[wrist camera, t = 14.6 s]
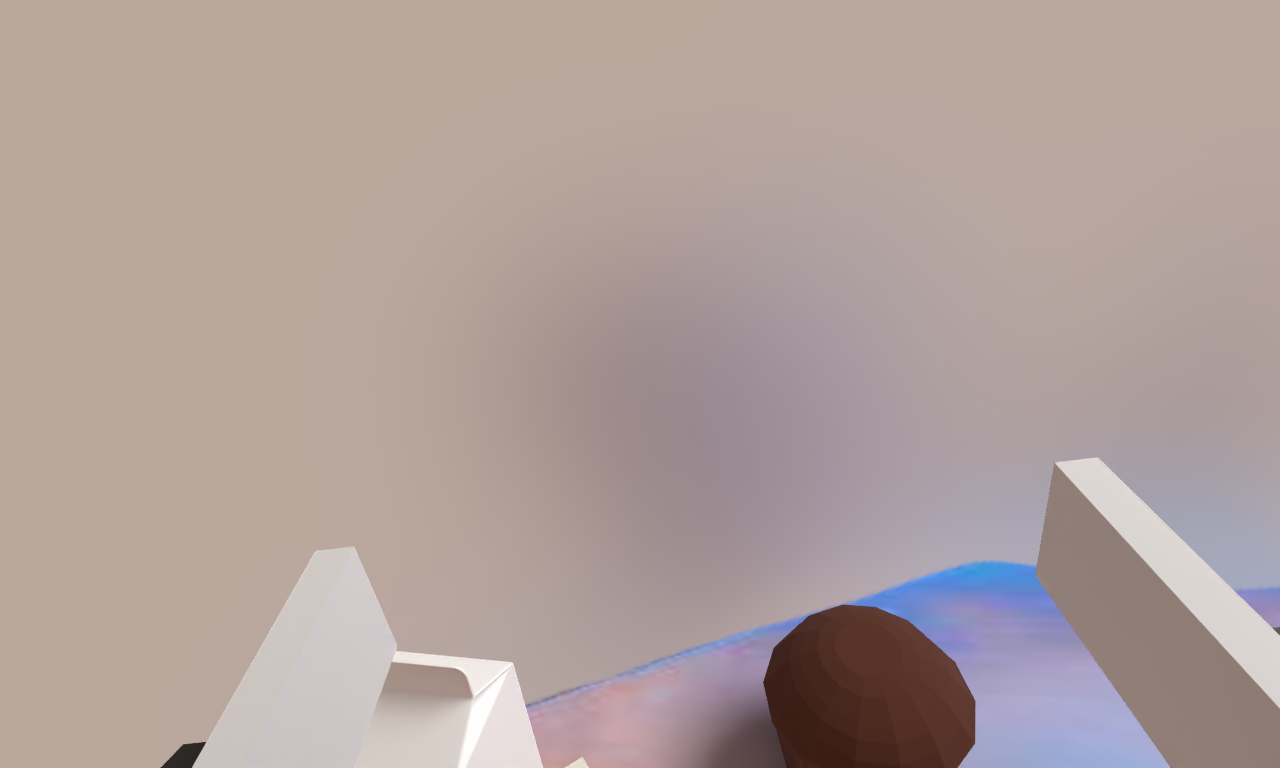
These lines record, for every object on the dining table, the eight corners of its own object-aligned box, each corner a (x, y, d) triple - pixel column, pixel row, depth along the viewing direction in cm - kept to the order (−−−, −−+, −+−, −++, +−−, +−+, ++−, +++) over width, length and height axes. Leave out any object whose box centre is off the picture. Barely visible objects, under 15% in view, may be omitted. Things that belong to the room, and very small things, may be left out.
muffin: (1001, 859, 37) (1028, 737, 33) (793, 880, 38) (790, 762, 33) (916, 673, 48) (927, 561, 43) (753, 691, 48) (747, 581, 44)
